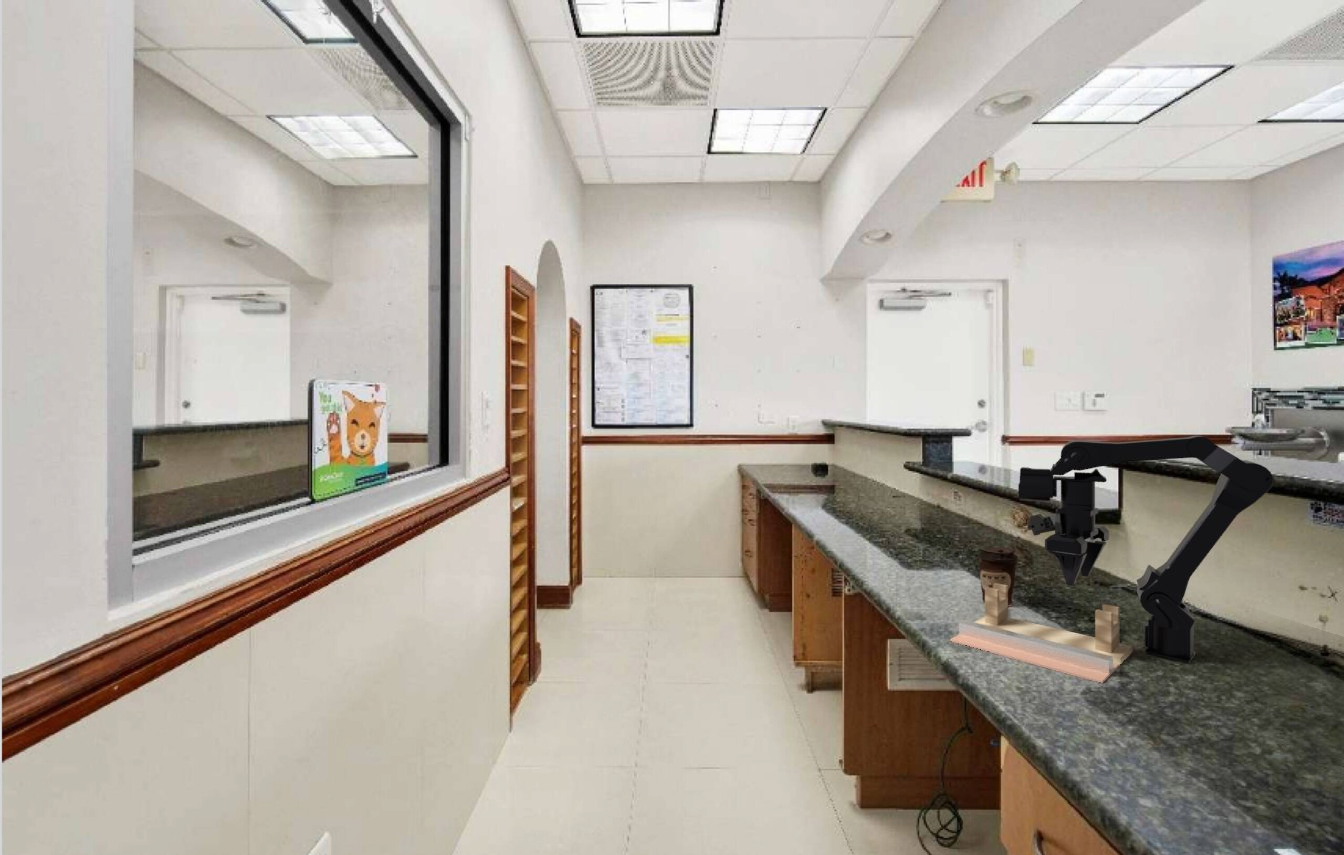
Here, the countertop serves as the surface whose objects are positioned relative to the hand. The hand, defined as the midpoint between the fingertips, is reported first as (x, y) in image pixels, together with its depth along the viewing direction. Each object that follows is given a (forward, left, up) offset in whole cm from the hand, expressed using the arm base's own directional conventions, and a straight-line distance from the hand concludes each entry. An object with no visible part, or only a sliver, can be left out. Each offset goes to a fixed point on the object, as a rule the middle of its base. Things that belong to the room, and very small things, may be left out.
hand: (1077, 580), depth 123 cm
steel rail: (+4, +14, -12) cm, 18 cm away
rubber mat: (+4, +14, -12) cm, 19 cm away
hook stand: (+4, +4, -12) cm, 13 cm away
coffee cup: (+20, -12, -12) cm, 26 cm away
